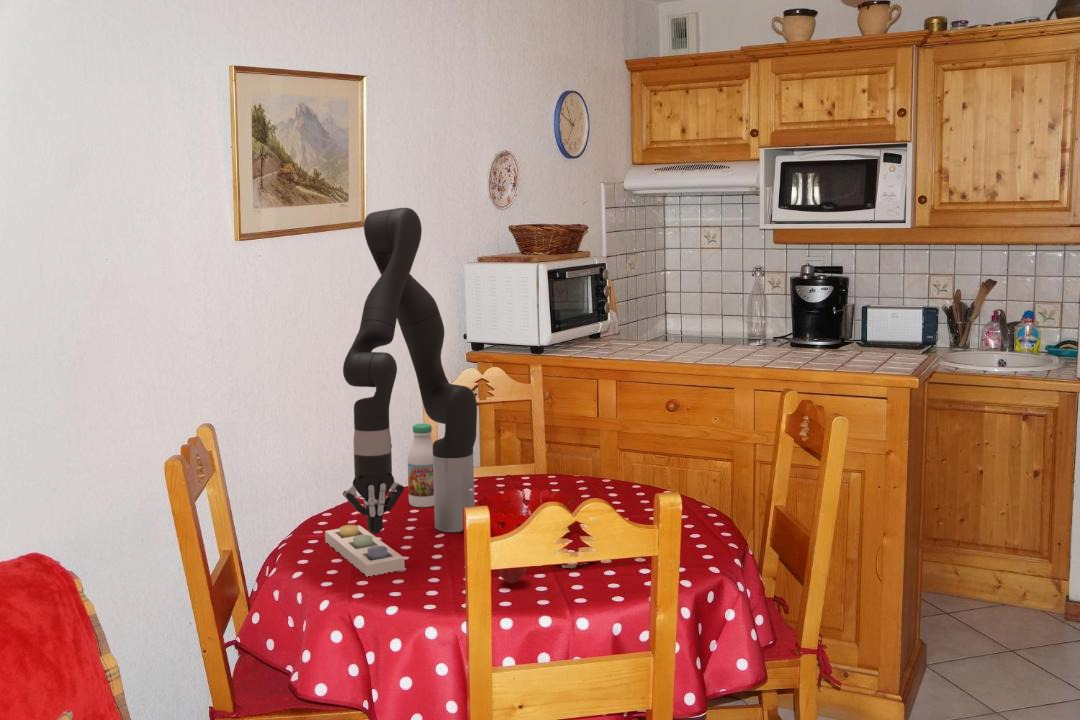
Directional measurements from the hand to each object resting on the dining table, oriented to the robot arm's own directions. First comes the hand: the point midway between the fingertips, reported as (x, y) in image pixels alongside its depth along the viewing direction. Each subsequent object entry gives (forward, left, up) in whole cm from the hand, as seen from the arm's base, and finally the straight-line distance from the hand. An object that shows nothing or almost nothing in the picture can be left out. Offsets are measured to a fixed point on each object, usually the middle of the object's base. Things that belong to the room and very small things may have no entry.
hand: (375, 532), depth 214 cm
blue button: (0, 0, -6) cm, 6 cm away
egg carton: (-41, 0, -8) cm, 42 cm away
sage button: (+3, -8, -6) cm, 10 cm away
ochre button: (+7, -15, -5) cm, 18 cm away
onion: (-28, +12, -8) cm, 31 cm away
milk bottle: (-8, -46, -8) cm, 47 cm away
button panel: (+3, -8, -7) cm, 11 cm away
